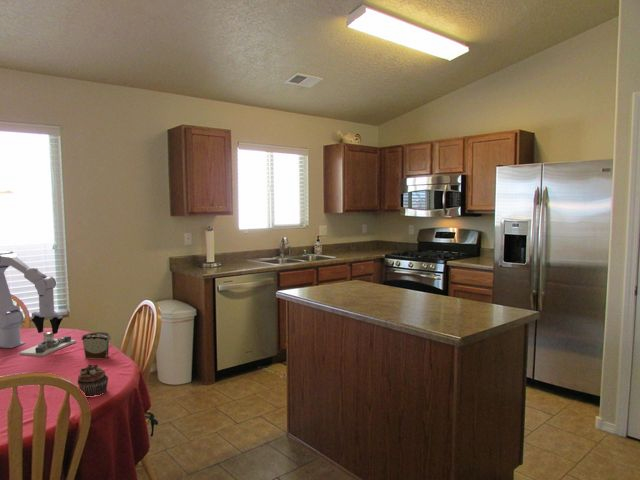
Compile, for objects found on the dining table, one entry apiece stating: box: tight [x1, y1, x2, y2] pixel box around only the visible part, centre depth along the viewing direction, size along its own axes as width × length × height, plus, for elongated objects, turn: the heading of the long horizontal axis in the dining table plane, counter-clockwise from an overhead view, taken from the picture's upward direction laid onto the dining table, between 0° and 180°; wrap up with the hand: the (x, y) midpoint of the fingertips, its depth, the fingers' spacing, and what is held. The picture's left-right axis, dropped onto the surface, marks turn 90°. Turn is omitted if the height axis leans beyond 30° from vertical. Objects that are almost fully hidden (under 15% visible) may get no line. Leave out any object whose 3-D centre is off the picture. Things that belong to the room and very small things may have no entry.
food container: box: [81, 331, 112, 360], centre depth 194 cm, size 12×6×10 cm, turn 84°
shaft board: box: [18, 338, 77, 357], centre depth 205 cm, size 12×20×2 cm, turn 169°
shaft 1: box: [35, 344, 47, 353], centre depth 198 cm, size 5×3×3 cm, turn 9°
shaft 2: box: [56, 335, 72, 343], centre depth 211 cm, size 5×3×3 cm, turn 149°
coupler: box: [43, 331, 55, 345], centre depth 205 cm, size 4×4×6 cm
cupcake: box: [77, 364, 109, 396], centre depth 157 cm, size 10×10×10 cm
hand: (47, 332), depth 205 cm, fingers open, 7 cm apart
